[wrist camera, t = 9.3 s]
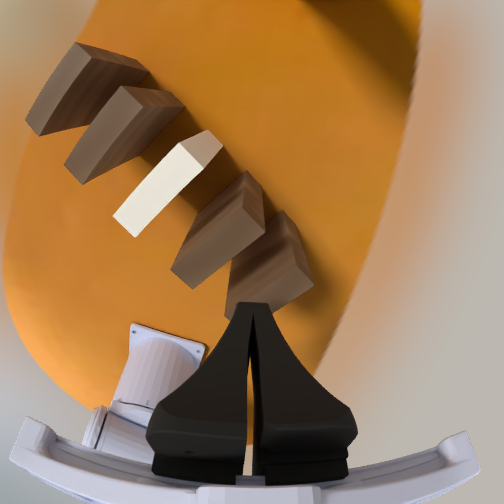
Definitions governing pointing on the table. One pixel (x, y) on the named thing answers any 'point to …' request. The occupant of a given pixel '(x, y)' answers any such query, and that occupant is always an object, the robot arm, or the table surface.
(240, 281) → the domino
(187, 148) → the domino
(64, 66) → the domino
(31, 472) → the robot arm
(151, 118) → the domino
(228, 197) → the domino
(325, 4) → the table surface
